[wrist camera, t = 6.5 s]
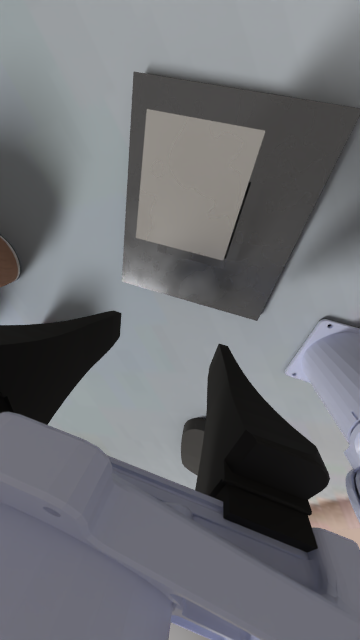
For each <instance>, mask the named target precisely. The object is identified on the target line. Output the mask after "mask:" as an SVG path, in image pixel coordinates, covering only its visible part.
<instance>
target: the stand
mask: <svg viewBox="0 0 360 640" xmlns="http://www.w3.org/2000/svg"><path fill="white" fill-rule="evenodd" d="M147 109H150V110H155V111H161V112H166V113H172V114H177V115H182V116H188V117H193V118H199V119H204V120H210V121H215V122H221V123H226V124H231V125H237V126H242V127H248V128H253V129H259V130H264V131H265V134H264V137H263V140H262V143H261V146H260V149H259V152H258V155H257V158H256V161H255V165H254V168H253V171H252V174H251V177H250V180H249V183H248V186H247V189H246V192H245V195H244V198H243V201H242V204H241V208H240V211H239V214H238V217H237V220H236V223H235V226H234V229H233V232H232V235H231V238H230V241H229V244H228V247H227V250H226V254H225V257H224V260H219V259H215V258H211V257H207V256H203V255H200V254H196V253H192V252H188V251H184V250H180V249H177V248H173V247H169V246H165V245H161V244H157V243H154V242H150V241H146V240H142V239H138V238H136V230H137V218H138V206H139V195H140V183H141V171H142V159H143V148H144V136H145V124H146V113H147ZM359 116H360V109H359V108H353V107H347V106H341V105H335V104H329V103H323V102H317V101H310V100H304V99H298V98H292V97H286V96H280V95H274V94H267V93H261V92H255V91H249V90H243V89H237V88H231V87H224V86H218V85H212V84H206V83H200V82H194V81H188V80H182V79H175V78H169V77H163V76H157V75H151V74H145V73H139V72H134V76H133V94H132V112H131V129H130V147H129V165H128V183H127V201H126V218H125V236H124V254H123V272H122V282H125V283H128V284H132V285H135V286H139V287H142V288H146V289H149V290H152V291H156V292H159V293H163V294H166V295H170V296H173V297H177V298H180V299H184V300H187V301H191V302H194V303H197V304H201V305H204V306H208V307H211V308H215V309H218V310H222V311H225V312H229V313H232V314H236V315H239V316H242V317H246V318H249V319H253V320H256V321H257V320H258V318H259V316H260V314H261V312H262V310H263V308H264V306H265V304H266V302H267V300H268V298H269V296H270V294H271V292H272V290H273V288H274V286H275V284H276V282H277V280H278V278H279V276H280V274H281V272H282V270H283V268H284V266H285V264H286V262H287V260H288V258H289V256H290V254H291V252H292V250H293V248H294V246H295V244H296V242H297V240H298V238H299V236H300V234H301V232H302V230H303V228H304V226H305V224H306V222H307V220H308V218H309V216H310V214H311V212H312V210H313V208H314V206H315V204H316V202H317V200H318V198H319V196H320V194H321V192H322V190H323V188H324V186H325V184H326V182H327V180H328V178H329V176H330V174H331V172H332V170H333V168H334V166H335V164H336V162H337V160H338V158H339V156H340V154H341V152H342V150H343V148H344V146H345V144H346V142H347V140H348V138H349V136H350V134H351V132H352V130H353V128H354V126H355V124H356V122H357V120H358V118H359Z"/></svg>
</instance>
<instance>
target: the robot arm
mask: <svg viewBox="0 0 360 640" xmlns="http://www.w3.org/2000/svg"><path fill="white" fill-rule="evenodd" d="M329 324H331V326H329V327H327V326H328V325H329ZM120 326H121V313H119V312H116V311H109V312H104V313H100V314H95V315H91V316H87V317H82V318H78V319H73V320H68V321H61V322H54V323H45V324H32V325H0V640H168V638H169V630H170V623H173V624H176V625H178V626H180V627H183V628H185V629H187V630H190V631H192V632H194V633H196V634H199V635H201V636H203V637H206V638H208V639H210V640H360V550H359V547H358V545H357V543H355V542H354V541H353V540H350V539H348V538H345V537H343V536H340V535H338V534H335V533H332V532H330V531H327V530H325V529H321V528H312V527H311V524H310V521H309V518H308V515H311V514H312V511H311V508H310V505H309V502H308V499H310V498H311V497H313V496H314V495H316V494H318V493H319V492H321V491H322V490H323V489H324V488H325V487H327V485H328V483H329V480H330V478H329V473H328V471H327V469H326V467H325V465H324V462H323V460H322V458H321V456H320V454H319V452H318V450H317V448H316V446H315V445H314V444H313V443H311V442H310V441H309V440H308V439H306V438H305V437H304V436H303V435H302V434H300V433H299V432H298V431H297V430H296V429H294V428H293V427H292V426H291V425H290V424H289V423H288V422H287V421H285V420H284V419H283V418H282V417H281V416H280V415H279V414H278V413H277V412H276V411H275V410H274V409H273V408H272V407H271V406H270V405H269V404H268V403H267V402H266V401H265V400H264V399H263V397H262V396H261V395H260V394H259V393H258V392H257V390H256V389H255V388H254V387H253V386H252V384H251V383H250V382H249V380H248V379H247V377H246V376H245V375H244V373H243V372H242V370H241V369H240V367H239V365H238V364H237V362H236V360H235V358H234V357H233V355H232V353H231V351H230V349H229V348H228V346H225V345H222V344H219V345H218V347H217V350H216V352H215V354H214V357H213V359H212V362H211V364H210V368H209V374H208V387H207V415H206V423H205V431H204V438H203V445H202V452H201V459H200V465H199V471H198V477H197V483H196V489H195V490H193V489H190V488H188V487H185V486H183V485H180V484H178V483H175V482H173V481H170V480H168V479H165V478H163V477H160V476H158V475H155V474H153V473H150V472H148V471H145V470H143V469H140V468H138V467H135V466H132V465H130V464H127V463H125V462H122V461H120V460H117V459H115V458H112V457H110V456H107V455H106V454H105V453H104V452H103V451H102V450H101V449H100V448H99V447H97V446H95V445H93V444H91V443H90V442H88V441H86V440H84V439H81V438H79V437H76V436H74V435H71V434H69V433H66V432H64V431H61V430H59V429H56V428H54V427H51V426H48V423H49V422H50V420H51V419H52V417H53V416H54V414H55V413H56V411H57V410H58V409H59V407H60V406H61V405H62V403H63V402H64V400H65V399H66V398H67V396H68V395H69V394H70V393H71V391H72V390H73V389H74V387H75V386H76V385H77V384H78V382H79V381H80V380H81V379H82V378H83V376H84V375H85V374H86V373H87V372H88V371H89V370H90V368H91V367H92V366H93V365H94V364H95V363H97V362H98V361H99V360H100V359H101V358H102V357H103V356H104V355H105V354H106V353H107V352H108V351H109V350H110V348H111V347H112V346H113V345H114V344H115V342H116V341H117V340H118V338H119V337H120ZM285 373H286V375H288V376H291V377H294V378H297V379H300V380H303V381H306V382H310V383H311V384H312V386H313V387H314V389H315V391H316V392H317V394H318V395H319V397H320V399H321V400H322V402H323V403H324V405H325V407H326V408H327V410H328V411H329V413H330V415H331V416H332V418H333V419H334V421H335V422H336V424H337V426H338V427H339V429H340V430H341V432H342V434H343V435H344V437H345V438H346V440H347V442H348V443H349V445H350V446H349V447H348V449H347V450H345V451H344V454H345V456H346V458H347V459H348V461H349V463H350V464H351V466H352V468H353V470H351V471H350V472H349V473H348V474H347V476H346V489H347V493H348V496H349V499H350V502H351V505H352V507H353V509H354V512H355V514H356V516H357V518H358V520H359V522H360V328H356V327H353V326H349V325H346V324H342V323H338V322H335V321H331V320H328V319H322V320H320V321H319V322H318V324H317V325H316V327H315V328H314V329H313V331H312V332H311V334H310V335H309V337H308V338H307V339H306V341H305V342H304V344H303V345H302V347H301V348H300V349H299V351H298V352H297V354H296V355H295V357H294V358H293V359H292V361H291V362H290V364H289V365H288V367H287V368H286V369H285ZM292 373H295V374H292Z"/></svg>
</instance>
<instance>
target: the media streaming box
mask: <svg viewBox="0 0 360 640" xmlns="http://www.w3.org/2000/svg"><path fill="white" fill-rule="evenodd" d="M205 423H206V419H203V418H195V419H191V420H189V421H187V422H186V423H185V425H184V430H183V435H182V443H181V458H182V464H183V465H184V466H185V467H186V468H187V469H188V470H190V471H191V472H192V473H194V474H196V475H198V471H199V465H200V459H201V452H202V445H203V438H204V431H205Z"/></svg>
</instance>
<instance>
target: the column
mask: <svg viewBox="0 0 360 640" xmlns="http://www.w3.org/2000/svg"><path fill="white" fill-rule="evenodd" d="M264 134H265V131H264V130H259V129H253V128H248V127H242V126H237V125H231V124H226V123H221V122H215V121H210V120H204V119H199V118H193V117H188V116H182V115H177V114H172V113H166V112H161V111H155V110H150V109H147V113H146V124H145V136H144V148H143V159H142V171H141V183H140V195H139V206H138V218H137V230H136V238H138V239H142V240H146V241H150V242H154V243H157V244H161V245H165V246H169V247H173V248H177V249H180V250H184V251H188V252H192V253H196V254H200V255H203V256H207V257H211V258H215V259H219V260H224V257H225V254H226V250H227V247H228V244H229V241H230V238H231V235H232V232H233V229H234V226H235V223H236V220H237V217H238V214H239V211H240V208H241V204H242V201H243V198H244V195H245V192H246V189H247V186H248V183H249V180H250V177H251V174H252V171H253V168H254V165H255V161H256V158H257V155H258V152H259V149H260V146H261V143H262V140H263V137H264Z"/></svg>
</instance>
